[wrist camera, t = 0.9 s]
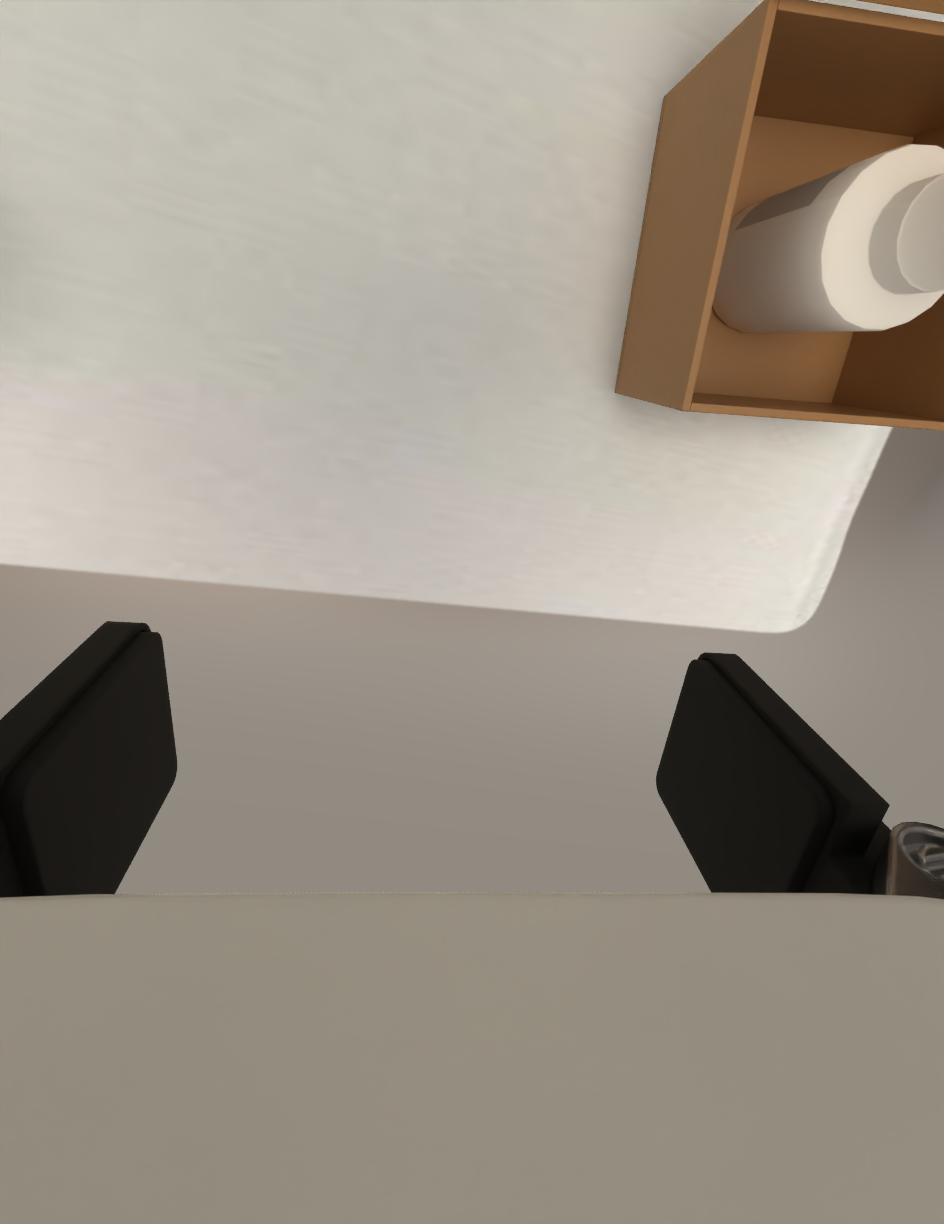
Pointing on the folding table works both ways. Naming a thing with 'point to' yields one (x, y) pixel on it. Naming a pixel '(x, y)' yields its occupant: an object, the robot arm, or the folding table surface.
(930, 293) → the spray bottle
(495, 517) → the folding table surface
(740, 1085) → the robot arm
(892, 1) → the flap
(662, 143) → the carton
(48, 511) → the folding table surface
